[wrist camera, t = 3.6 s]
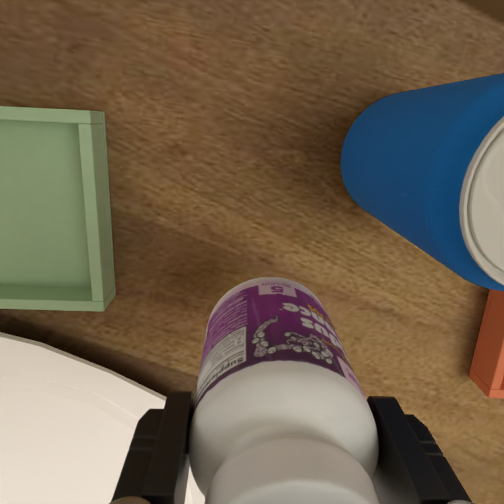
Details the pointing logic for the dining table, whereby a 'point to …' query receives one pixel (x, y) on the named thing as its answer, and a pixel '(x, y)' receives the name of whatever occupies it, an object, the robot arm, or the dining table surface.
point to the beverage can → (436, 172)
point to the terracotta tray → (490, 348)
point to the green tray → (55, 210)
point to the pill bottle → (279, 404)
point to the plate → (66, 426)
